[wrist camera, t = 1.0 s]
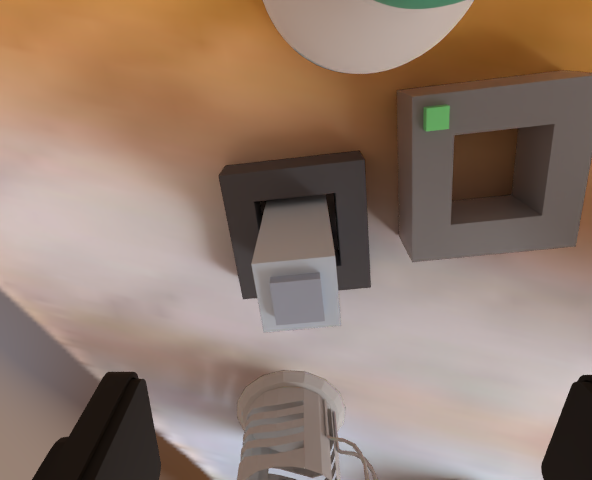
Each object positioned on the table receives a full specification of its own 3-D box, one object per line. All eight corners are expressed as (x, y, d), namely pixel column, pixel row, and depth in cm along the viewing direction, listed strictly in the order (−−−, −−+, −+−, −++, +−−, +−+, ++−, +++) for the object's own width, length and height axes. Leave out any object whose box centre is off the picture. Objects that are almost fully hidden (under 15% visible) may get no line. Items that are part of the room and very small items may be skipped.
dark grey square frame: (365, 270, 31) (370, 287, 29) (247, 281, 32) (242, 299, 29) (359, 150, 27) (364, 159, 25) (225, 165, 28) (218, 175, 26)
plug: (329, 243, 30) (342, 333, 21) (275, 248, 31) (262, 339, 21) (324, 190, 29) (336, 261, 19) (267, 196, 29) (249, 270, 19)
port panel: (541, 222, 29) (581, 250, 25) (398, 236, 30) (414, 266, 26) (562, 70, 25) (614, 74, 21) (396, 90, 26) (415, 97, 22)
